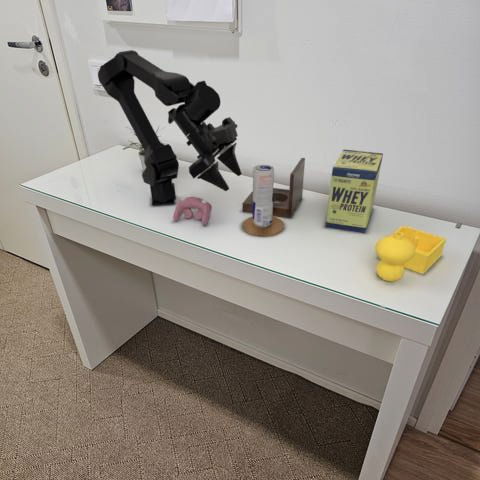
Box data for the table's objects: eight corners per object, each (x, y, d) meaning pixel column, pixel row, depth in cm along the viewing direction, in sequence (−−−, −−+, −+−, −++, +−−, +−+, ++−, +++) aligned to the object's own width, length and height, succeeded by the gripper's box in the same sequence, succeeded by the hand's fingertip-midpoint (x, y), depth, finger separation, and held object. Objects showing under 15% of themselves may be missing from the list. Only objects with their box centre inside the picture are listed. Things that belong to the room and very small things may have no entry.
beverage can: (272, 220, 116) (274, 163, 107) (271, 229, 112) (273, 171, 103) (253, 219, 117) (253, 163, 107) (252, 228, 113) (252, 170, 103)
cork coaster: (245, 238, 110) (245, 236, 110) (239, 218, 118) (239, 216, 118) (288, 234, 111) (288, 232, 111) (279, 215, 119) (279, 213, 119)
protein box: (324, 227, 114) (331, 168, 104) (335, 203, 125) (343, 148, 115) (365, 233, 111) (376, 173, 101) (373, 208, 122) (383, 152, 112)
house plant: (119, 170, 148) (109, 119, 138) (153, 160, 156) (146, 111, 145) (142, 181, 140) (134, 128, 130) (177, 170, 147) (171, 119, 137)
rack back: (287, 217, 118) (290, 174, 111) (298, 198, 128) (301, 157, 120) (291, 218, 118) (294, 174, 111) (301, 199, 128) (305, 157, 120)
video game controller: (211, 226, 119) (214, 199, 117) (205, 226, 114) (208, 198, 113) (178, 221, 121) (181, 195, 120) (171, 221, 117) (173, 194, 115)
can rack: (242, 211, 122) (242, 203, 120) (256, 193, 131) (256, 185, 130) (291, 218, 118) (292, 209, 117) (302, 199, 128) (302, 191, 126)
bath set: (399, 242, 107) (409, 200, 100) (440, 256, 102) (454, 213, 95) (357, 276, 95) (365, 232, 89) (402, 294, 90) (414, 248, 83)
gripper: (202, 122, 94) (245, 182, 100) (232, 98, 107) (268, 152, 113) (169, 150, 101) (211, 204, 107) (201, 124, 114) (237, 173, 120)
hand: (234, 182), depth 111 cm, fingers open, 9 cm apart
